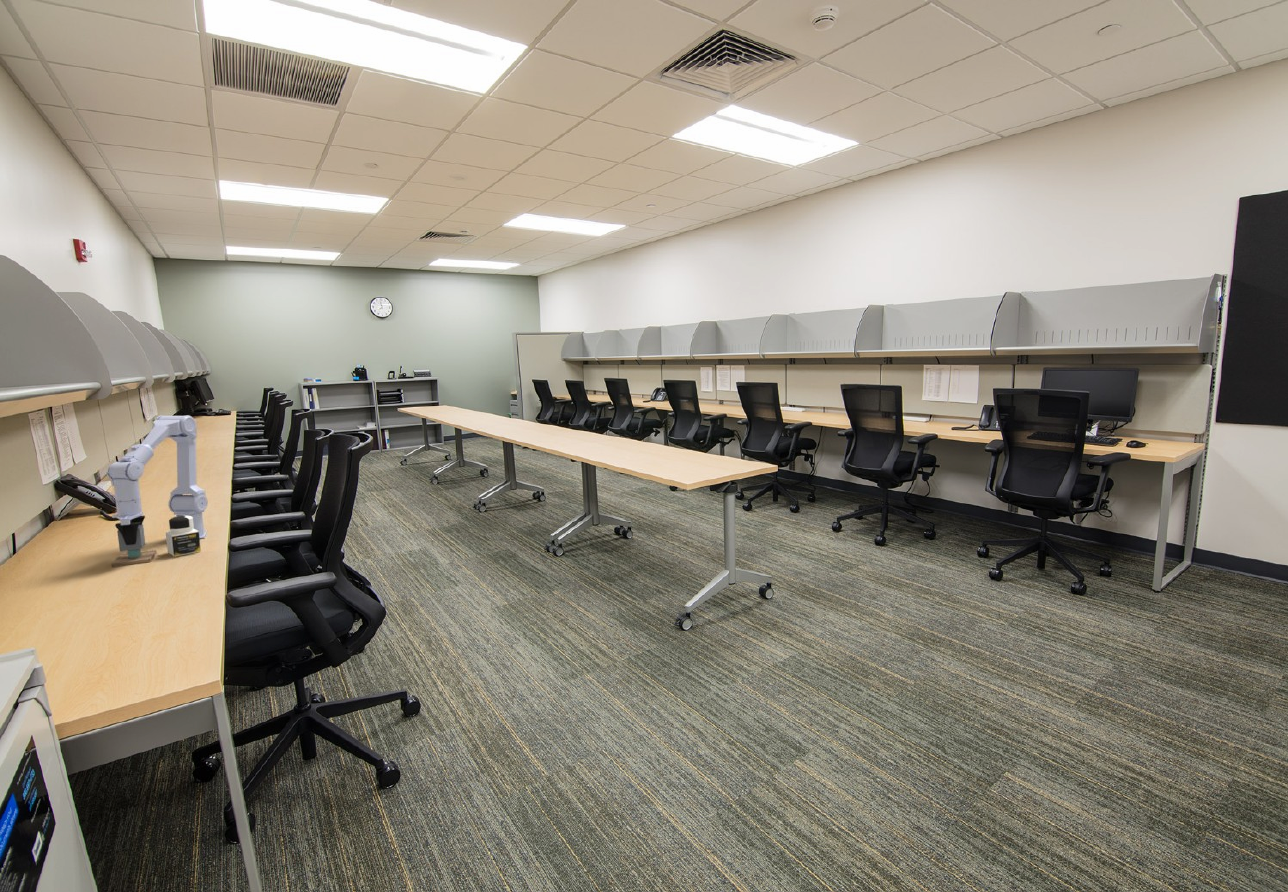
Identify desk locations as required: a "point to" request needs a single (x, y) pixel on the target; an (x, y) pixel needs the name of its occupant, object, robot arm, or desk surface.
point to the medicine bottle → (182, 536)
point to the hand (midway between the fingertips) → (133, 542)
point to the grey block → (139, 544)
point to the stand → (134, 557)
